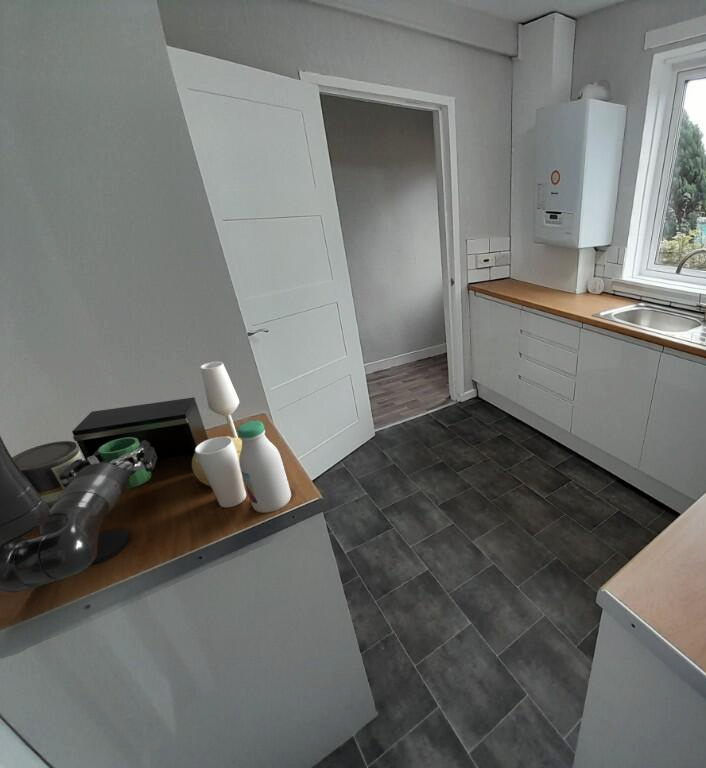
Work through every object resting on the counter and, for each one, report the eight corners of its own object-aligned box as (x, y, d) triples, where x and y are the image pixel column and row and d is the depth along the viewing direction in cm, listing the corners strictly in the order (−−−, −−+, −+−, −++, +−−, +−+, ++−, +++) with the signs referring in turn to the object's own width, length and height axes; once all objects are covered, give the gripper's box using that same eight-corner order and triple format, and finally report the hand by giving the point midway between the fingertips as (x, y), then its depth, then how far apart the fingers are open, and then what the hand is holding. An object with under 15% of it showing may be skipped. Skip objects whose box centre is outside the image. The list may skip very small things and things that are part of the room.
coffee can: (44, 533, 82) (9, 477, 76) (33, 512, 87) (-1, 457, 81) (111, 504, 90) (83, 451, 84) (97, 486, 95) (70, 435, 89)
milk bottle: (296, 488, 96) (276, 415, 87) (285, 511, 89) (263, 434, 80) (260, 492, 95) (237, 417, 86) (247, 515, 88) (220, 437, 79)
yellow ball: (216, 500, 92) (202, 461, 88) (189, 482, 98) (174, 444, 93) (266, 473, 101) (255, 436, 97) (238, 458, 107) (227, 422, 102)
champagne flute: (256, 443, 114) (233, 363, 103) (231, 455, 108) (203, 372, 98) (243, 436, 117) (219, 358, 106) (218, 447, 111) (190, 366, 101)
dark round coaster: (64, 571, 74) (61, 567, 73) (83, 541, 80) (81, 537, 80) (120, 557, 77) (118, 553, 77) (134, 529, 84) (133, 525, 83)
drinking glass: (208, 506, 90) (186, 449, 84) (237, 487, 96) (218, 433, 90) (229, 514, 88) (208, 457, 82) (257, 495, 94) (240, 440, 87)
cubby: (99, 492, 94) (70, 432, 87) (116, 468, 102) (91, 411, 96) (204, 471, 102) (184, 415, 95) (211, 450, 110) (194, 397, 104)
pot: (109, 492, 85) (92, 455, 81) (120, 475, 90) (105, 440, 86) (146, 485, 87) (132, 449, 84) (155, 469, 92) (142, 435, 89)
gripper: (136, 466, 75) (161, 425, 89) (29, 486, 70) (74, 439, 83) (149, 499, 78) (172, 454, 92) (48, 520, 73) (88, 469, 86)
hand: (125, 447), depth 88 cm, fingers closed on pot, 6 cm apart
